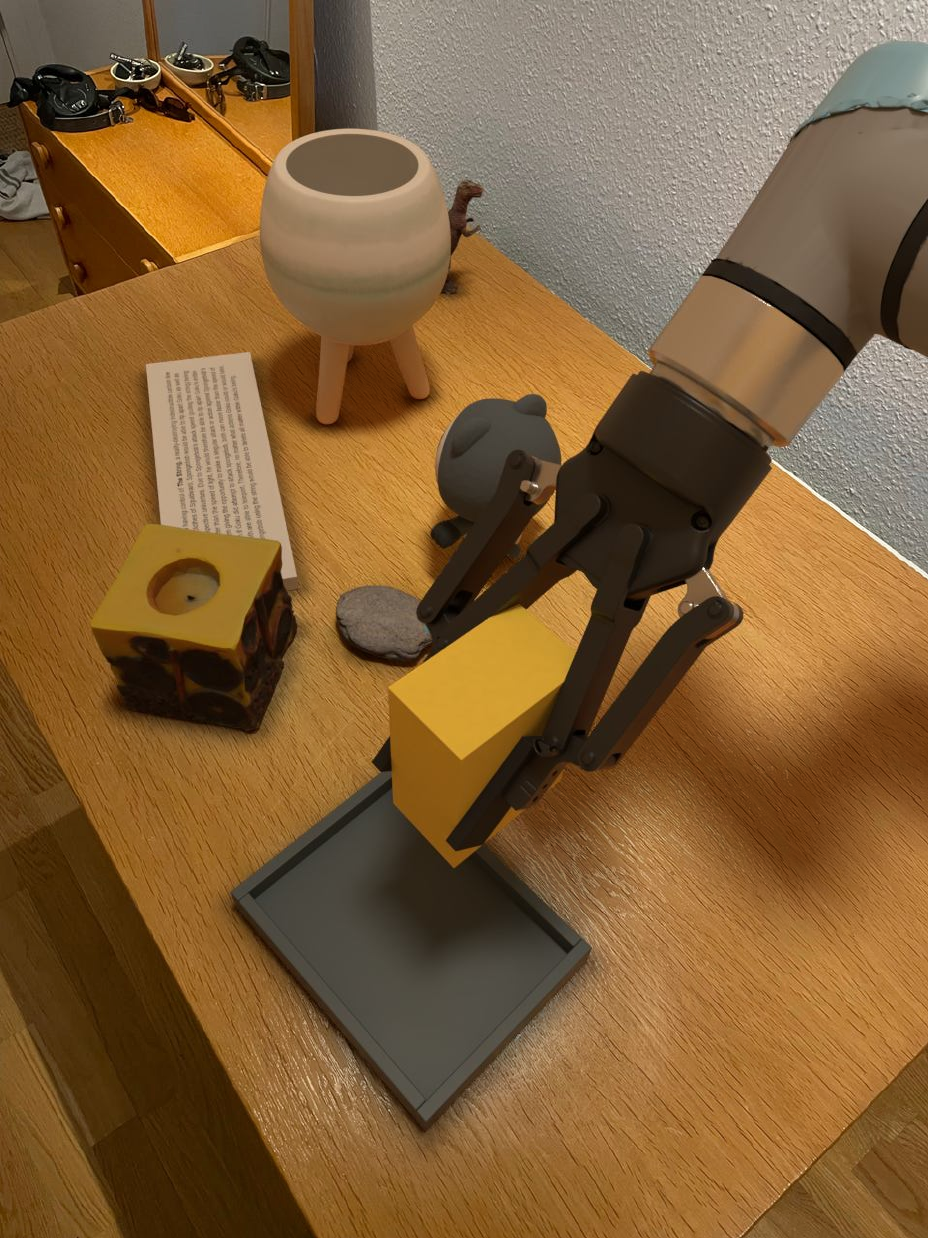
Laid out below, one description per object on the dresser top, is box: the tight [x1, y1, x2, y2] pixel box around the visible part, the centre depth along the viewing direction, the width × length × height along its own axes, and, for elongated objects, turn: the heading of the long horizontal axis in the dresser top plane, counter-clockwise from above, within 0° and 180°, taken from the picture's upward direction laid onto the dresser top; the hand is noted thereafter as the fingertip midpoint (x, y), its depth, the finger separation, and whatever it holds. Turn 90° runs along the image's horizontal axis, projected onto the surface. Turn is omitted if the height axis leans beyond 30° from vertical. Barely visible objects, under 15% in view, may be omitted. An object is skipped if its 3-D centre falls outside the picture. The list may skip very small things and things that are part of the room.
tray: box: [230, 771, 593, 1132], centre depth 58 cm, size 18×14×2 cm
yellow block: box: [387, 604, 576, 868], centre depth 47 cm, size 5×8×11 cm, turn 132°
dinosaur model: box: [441, 179, 485, 295], centre depth 100 cm, size 4×12×15 cm
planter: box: [259, 128, 451, 425], centre depth 84 cm, size 16×16×22 cm
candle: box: [90, 522, 298, 732], centre depth 67 cm, size 10×10×10 cm
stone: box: [335, 584, 432, 663], centre depth 73 cm, size 7×8×2 cm
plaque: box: [145, 351, 300, 592], centre depth 84 cm, size 30×2×10 cm
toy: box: [429, 393, 562, 560], centre depth 74 cm, size 12×10×15 cm
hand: (427, 802), depth 48 cm, fingers closed on yellow block, 5 cm apart
